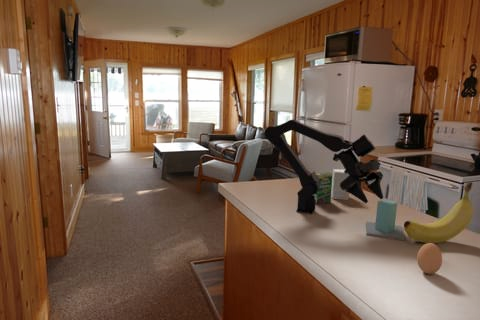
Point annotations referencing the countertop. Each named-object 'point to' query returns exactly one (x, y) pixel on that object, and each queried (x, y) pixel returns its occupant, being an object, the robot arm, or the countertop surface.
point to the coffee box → (324, 188)
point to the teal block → (386, 216)
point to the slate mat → (394, 234)
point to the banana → (443, 223)
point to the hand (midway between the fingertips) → (374, 200)
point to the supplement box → (336, 189)
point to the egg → (429, 258)
